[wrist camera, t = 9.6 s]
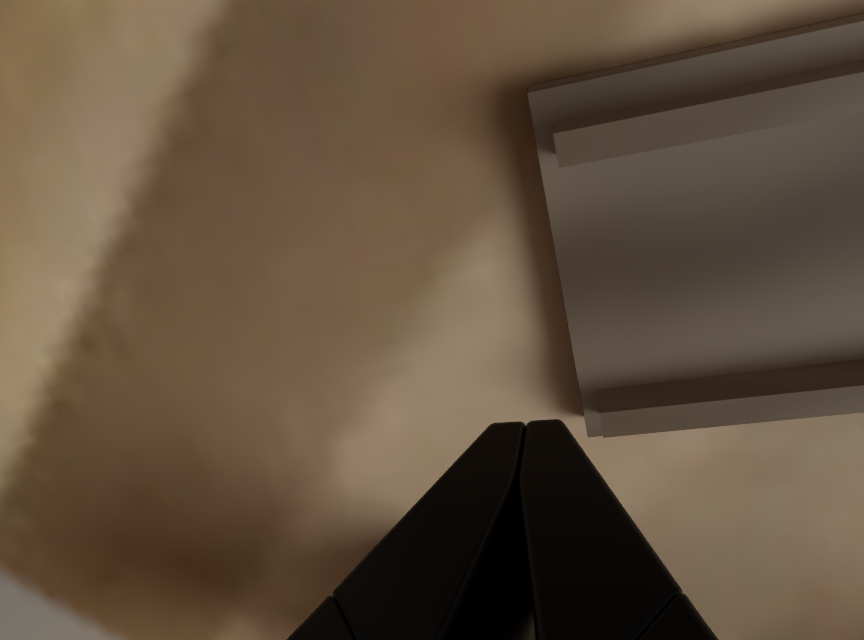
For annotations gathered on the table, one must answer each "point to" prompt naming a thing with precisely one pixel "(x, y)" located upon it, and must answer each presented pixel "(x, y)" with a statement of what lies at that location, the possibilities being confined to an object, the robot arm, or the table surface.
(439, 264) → the table surface
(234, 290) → the table surface
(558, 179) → the guide board
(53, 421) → the table surface
